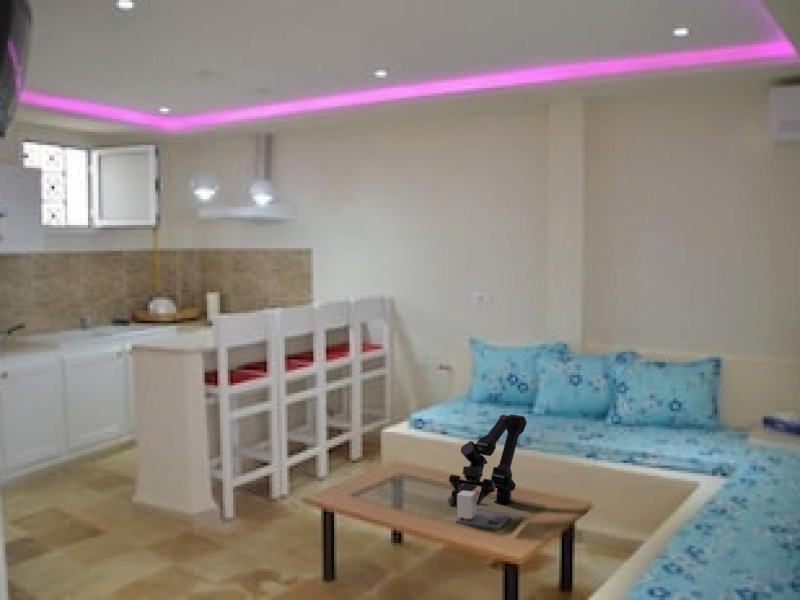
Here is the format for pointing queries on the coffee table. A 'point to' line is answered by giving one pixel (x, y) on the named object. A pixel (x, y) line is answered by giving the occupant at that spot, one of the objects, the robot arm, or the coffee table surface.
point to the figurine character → (464, 487)
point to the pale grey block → (466, 504)
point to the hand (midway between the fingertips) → (467, 502)
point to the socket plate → (485, 520)
